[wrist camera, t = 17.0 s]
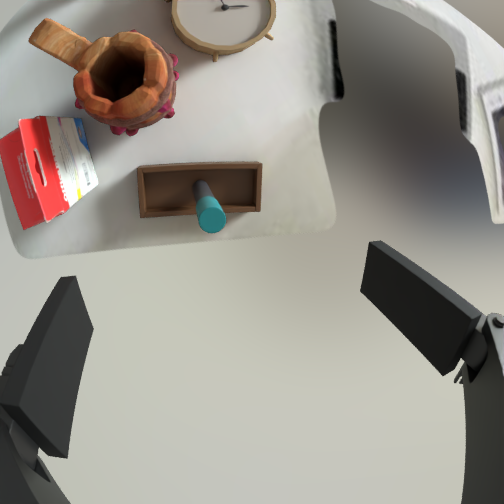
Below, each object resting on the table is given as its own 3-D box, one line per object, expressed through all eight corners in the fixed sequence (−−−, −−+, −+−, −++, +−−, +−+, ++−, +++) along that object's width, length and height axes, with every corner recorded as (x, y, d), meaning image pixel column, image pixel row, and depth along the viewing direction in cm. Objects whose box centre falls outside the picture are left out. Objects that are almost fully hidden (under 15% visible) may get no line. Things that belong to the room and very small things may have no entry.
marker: (189, 193, 32) (195, 230, 21) (194, 176, 31) (203, 204, 20) (205, 197, 32) (221, 236, 21) (211, 181, 32) (229, 210, 21)
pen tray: (142, 213, 32) (140, 218, 30) (139, 165, 30) (136, 168, 28) (255, 207, 35) (260, 211, 33) (257, 161, 33) (262, 163, 31)
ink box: (48, 133, 25) (-25, 143, 12) (82, 117, 25) (20, 112, 12) (66, 198, 29) (6, 245, 16) (100, 185, 29) (51, 225, 16)
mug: (196, 90, 28) (210, 56, 14) (151, 147, 29) (128, 159, 16) (101, 30, 21) (58, -25, 8) (59, 86, 23) (-12, 67, 10)
